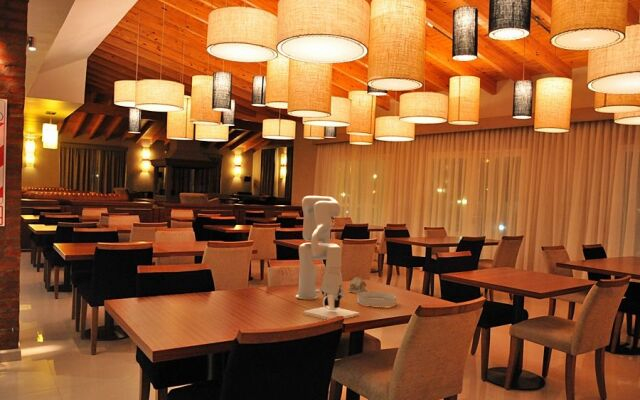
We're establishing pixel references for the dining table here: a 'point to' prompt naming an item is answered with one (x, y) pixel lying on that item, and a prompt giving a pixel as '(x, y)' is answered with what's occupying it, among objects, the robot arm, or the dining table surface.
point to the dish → (376, 299)
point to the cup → (330, 301)
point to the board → (329, 313)
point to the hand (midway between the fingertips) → (331, 306)
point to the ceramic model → (357, 285)
